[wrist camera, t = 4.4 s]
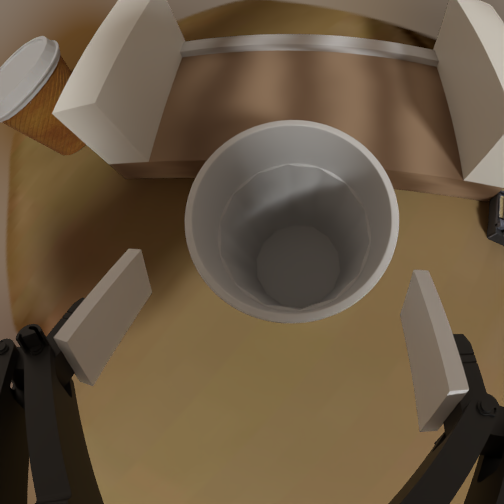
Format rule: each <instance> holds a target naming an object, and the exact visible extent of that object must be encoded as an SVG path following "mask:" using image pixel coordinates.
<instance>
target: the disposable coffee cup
mask: <svg viewBox="0 0 504 504" xmlns="http://www.w3.org/2000/svg"><path fill="white" fill-rule="evenodd" d="M71 74H72V73H71V71H70V70H69V68H68V67H67V65H66V63H65V61H64V60H63V58H62V57H61V55H60V50H59V45H58V43H57V42H56V41H54V40H49V39H47V38H46V37H44V36H40V37H37V38H34V39H32V40H31V41H29V42H27V43H26V44H24V45H23V46H22V47H20V48H19V49H18V50H17V51H16V52H15V53H13V54H12V55H11V56H10V57H9V58H8V59H7V61H6V62H5V63H4V64H3V65H2V66H1V68H0V122H3V123H4V124H6V125H8V126H9V127H12V128H13V129H15V130H17V131H19V132H21V133H23V134H25V135H26V136H28V137H30V138H32V139H34V140H36V141H37V142H39V143H41V144H43V145H45V146H47V147H49V148H51V149H53V150H54V151H56V152H58V153H60V154H62V155H70V154H73V153H75V152H77V151H78V150H80V149H81V148H82V147H84V146H85V145H86V144H85V143H84V142H83V141H82V140H81V139H80V138H78V137H77V136H76V135H75V134H74V133H73V132H72V131H71V130H70V129H68V128H67V127H66V126H65V125H64V124H63V123H62V122H61V121H60V120H58V119H57V118H56V117H55V116H54V115H53V114H52V112H53V110H54V108H55V106H56V103H57V101H58V99H59V97H60V95H61V93H62V91H63V89H64V87H65V85H66V83H67V81H68V80H69V78H70V76H71Z"/></svg>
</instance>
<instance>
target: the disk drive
mask: <svg viewBox="0 0 504 504" xmlns="http://www.w3.org/2000/svg"><path fill="white" fill-rule="evenodd" d="M487 238H488V239H489V240H492V241H494V242H496V243H499V244H501V245H503V246H504V188H503V189H502V190H501V191H500V192H498V193H497V194H496V195H495V196H494V197H493V198H491V199H490V206H489V222H488V230H487Z"/></svg>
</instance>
